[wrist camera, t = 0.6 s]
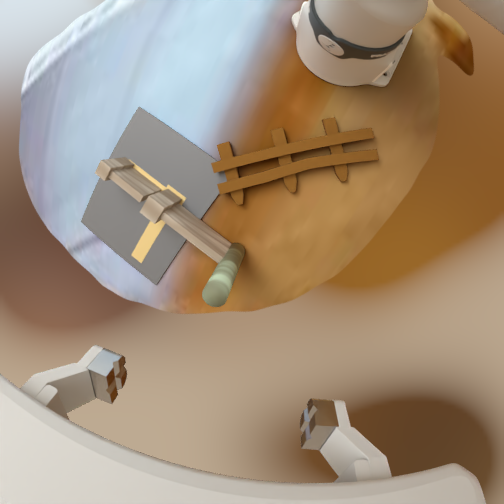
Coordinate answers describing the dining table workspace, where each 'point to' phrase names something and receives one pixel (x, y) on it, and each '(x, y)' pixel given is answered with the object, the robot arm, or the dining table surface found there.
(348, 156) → the decorative fence
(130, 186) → the fixed fence section
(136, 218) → the board
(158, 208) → the swinging fence section
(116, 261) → the dining table surface
